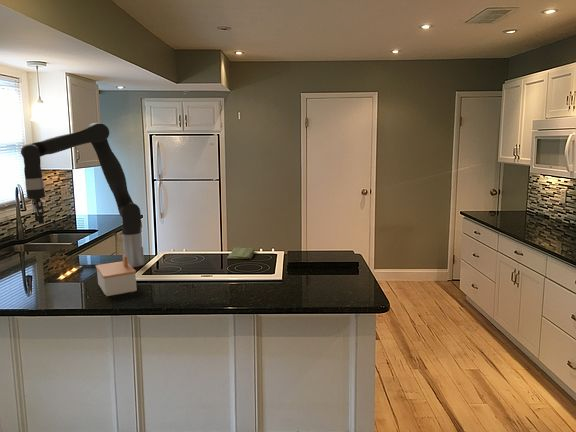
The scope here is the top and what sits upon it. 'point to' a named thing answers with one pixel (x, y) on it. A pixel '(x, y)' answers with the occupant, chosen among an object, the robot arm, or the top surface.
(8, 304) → the top surface
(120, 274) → the snap lid
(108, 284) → the parts tub
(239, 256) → the washcloth
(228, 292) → the top surface
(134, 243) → the robot arm
